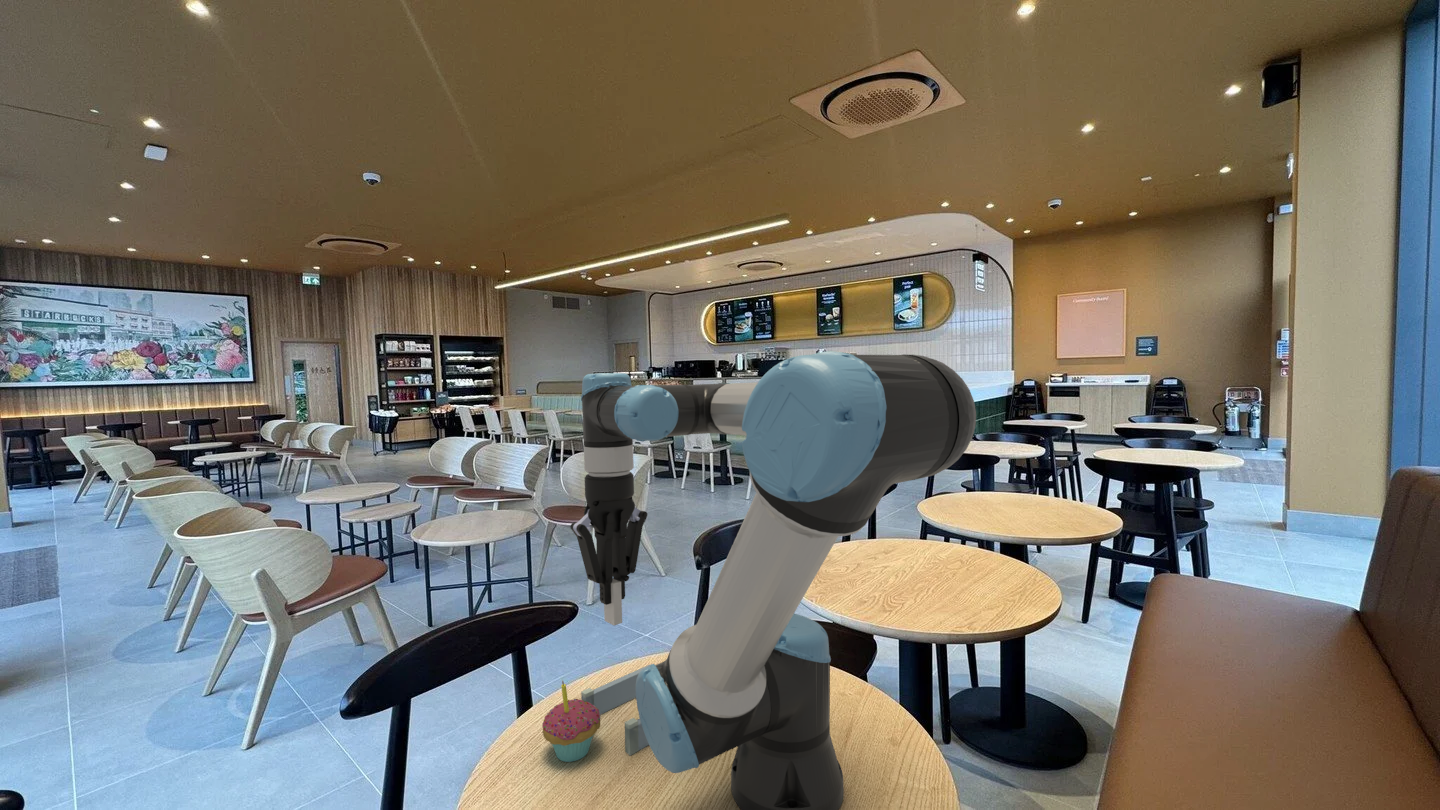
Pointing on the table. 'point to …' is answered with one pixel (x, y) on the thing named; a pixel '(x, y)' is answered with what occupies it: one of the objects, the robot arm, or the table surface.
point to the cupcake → (571, 727)
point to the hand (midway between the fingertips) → (613, 621)
